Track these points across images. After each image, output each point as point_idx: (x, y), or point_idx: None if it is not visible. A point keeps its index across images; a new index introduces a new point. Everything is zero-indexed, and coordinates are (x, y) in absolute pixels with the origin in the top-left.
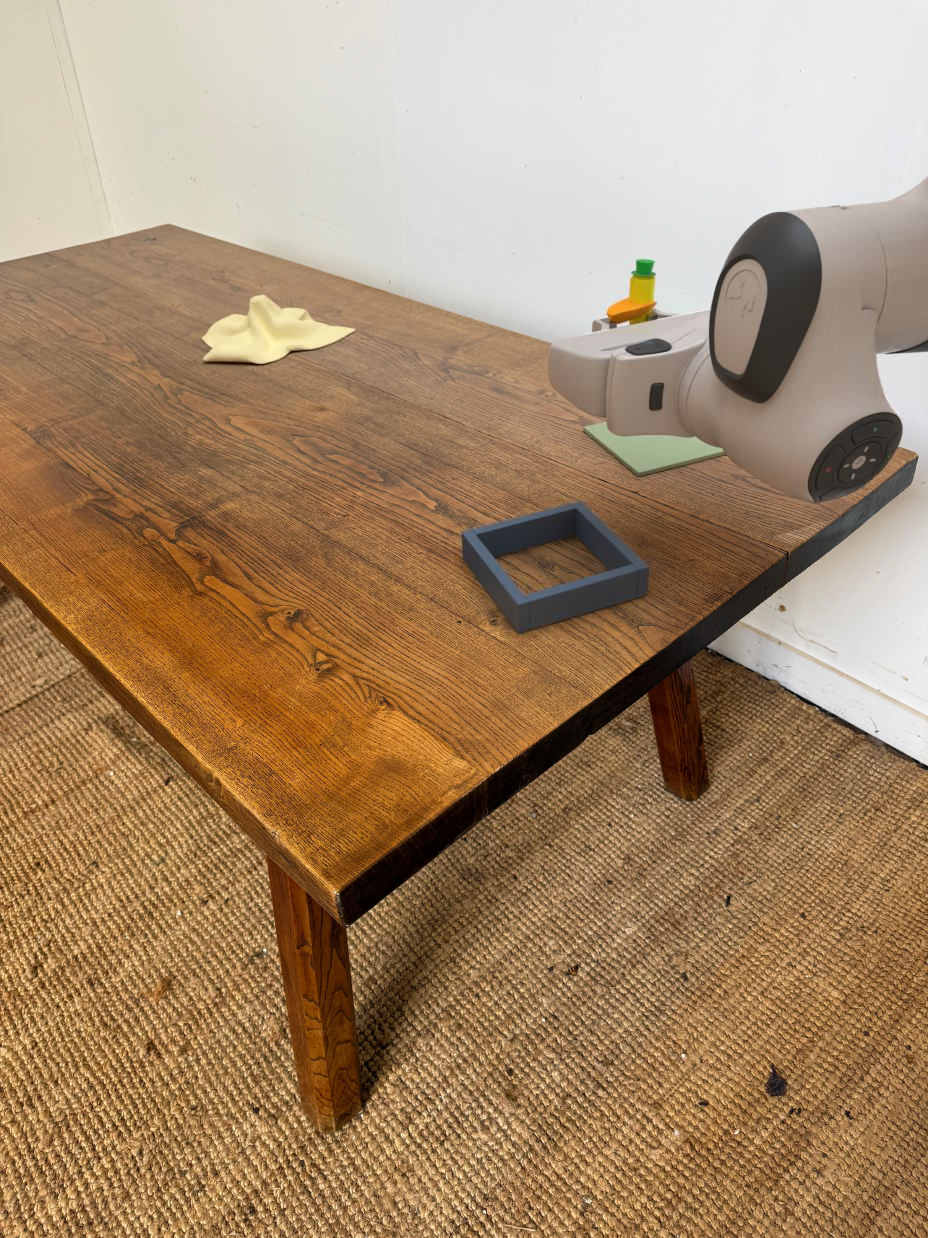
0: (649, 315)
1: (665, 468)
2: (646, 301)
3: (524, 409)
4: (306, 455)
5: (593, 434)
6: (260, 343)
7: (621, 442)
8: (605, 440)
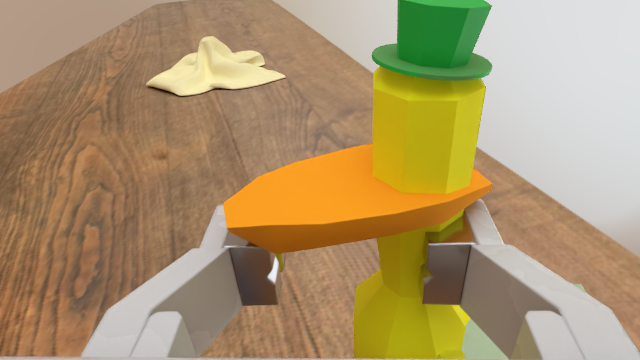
0: (432, 243)
1: None
2: (421, 187)
3: None
4: (72, 217)
5: None
6: (191, 77)
7: None
8: None
